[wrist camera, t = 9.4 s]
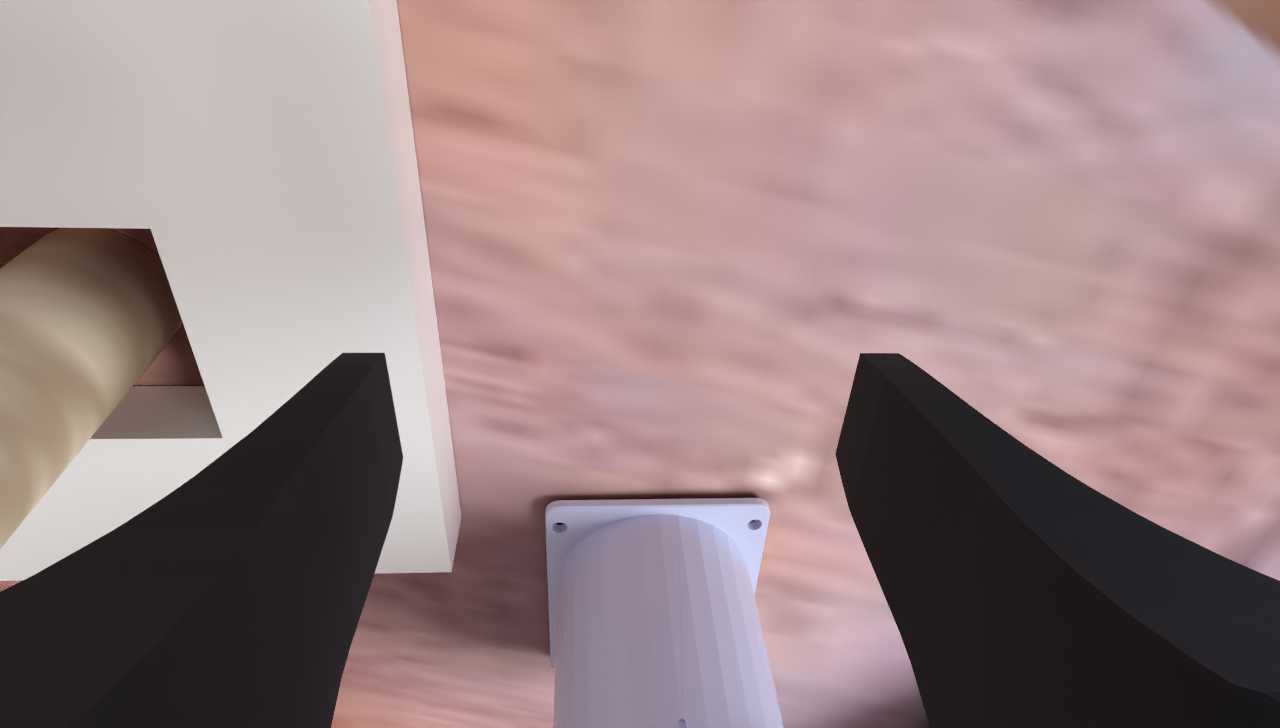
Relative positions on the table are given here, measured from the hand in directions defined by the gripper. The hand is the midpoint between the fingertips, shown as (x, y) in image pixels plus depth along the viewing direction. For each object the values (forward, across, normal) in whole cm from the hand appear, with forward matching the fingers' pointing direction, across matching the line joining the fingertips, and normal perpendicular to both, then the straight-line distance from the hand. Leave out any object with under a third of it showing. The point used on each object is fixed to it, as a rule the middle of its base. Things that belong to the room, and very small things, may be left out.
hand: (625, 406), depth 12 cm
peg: (+10, +14, +4) cm, 18 cm away
